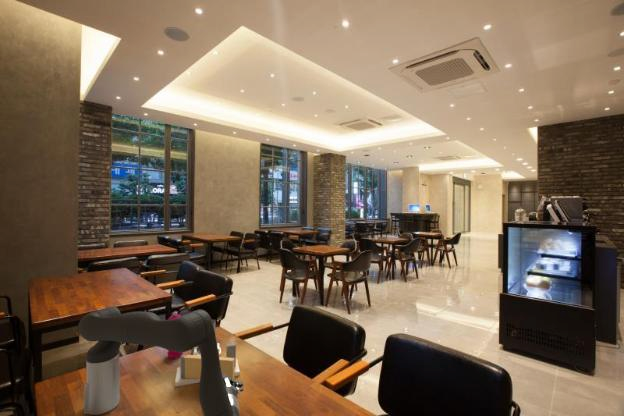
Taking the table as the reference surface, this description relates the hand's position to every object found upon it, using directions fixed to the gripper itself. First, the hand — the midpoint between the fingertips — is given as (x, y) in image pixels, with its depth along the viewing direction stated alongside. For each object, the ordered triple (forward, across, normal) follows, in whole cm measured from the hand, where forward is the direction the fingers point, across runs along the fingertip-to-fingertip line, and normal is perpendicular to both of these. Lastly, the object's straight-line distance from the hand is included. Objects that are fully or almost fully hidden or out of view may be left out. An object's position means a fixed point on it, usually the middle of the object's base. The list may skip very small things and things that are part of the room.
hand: (223, 375), depth 110 cm
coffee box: (+30, +7, +7) cm, 32 cm away
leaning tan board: (+9, +6, +5) cm, 12 cm away
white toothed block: (+18, +6, +6) cm, 20 cm away
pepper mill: (+35, +19, +7) cm, 41 cm away
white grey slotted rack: (+16, +5, +7) cm, 18 cm away
